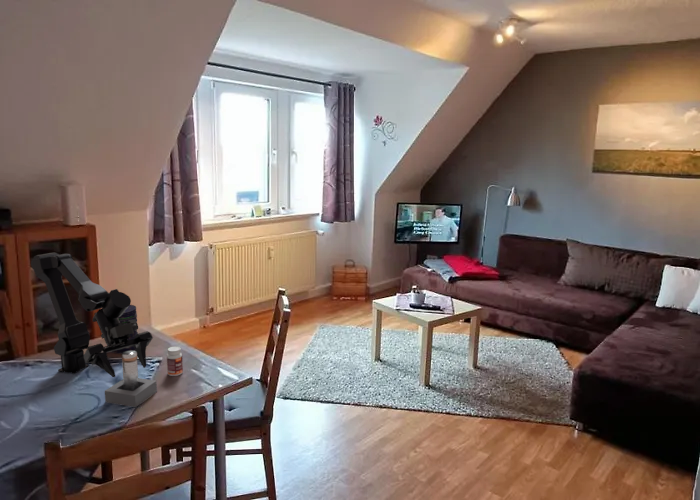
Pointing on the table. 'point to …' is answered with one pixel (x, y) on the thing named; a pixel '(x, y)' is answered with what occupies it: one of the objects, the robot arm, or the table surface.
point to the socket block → (130, 393)
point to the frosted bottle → (130, 370)
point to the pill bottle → (174, 361)
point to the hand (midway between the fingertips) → (130, 371)
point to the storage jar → (124, 318)
